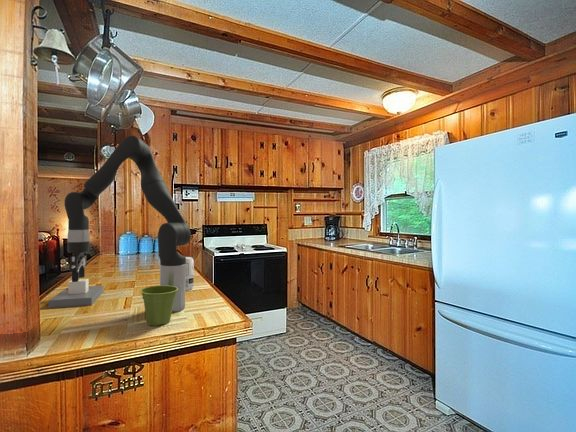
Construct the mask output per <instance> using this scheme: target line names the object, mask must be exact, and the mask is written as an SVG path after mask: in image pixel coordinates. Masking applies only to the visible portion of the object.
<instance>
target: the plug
mask: <svg viewBox="0 0 576 432" xmlns="http://www.w3.org/2000/svg"><path fill="white" fill-rule="evenodd" d="M89 279H90V278H79V281H78V282H72V279H71V280H69V281H68V282H67V284H68V286H67V288H68V294H81V293H86V292H87V291H89V286H90V283H89Z"/></svg>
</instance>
